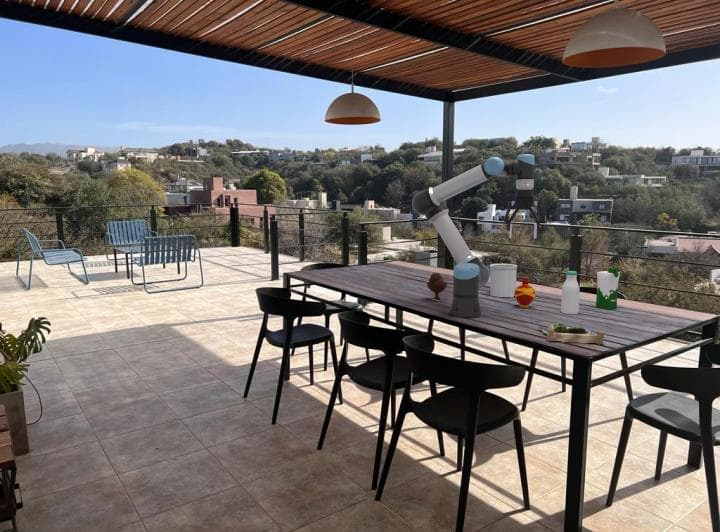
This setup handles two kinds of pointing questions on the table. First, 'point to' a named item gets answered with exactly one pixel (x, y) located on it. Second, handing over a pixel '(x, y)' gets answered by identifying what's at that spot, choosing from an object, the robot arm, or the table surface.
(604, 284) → the milk carton
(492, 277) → the utensil holder
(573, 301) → the milk bottle
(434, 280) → the ice cream bowl
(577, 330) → the salad plate
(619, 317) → the table surface
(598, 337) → the stop rail
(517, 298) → the potion bottle
